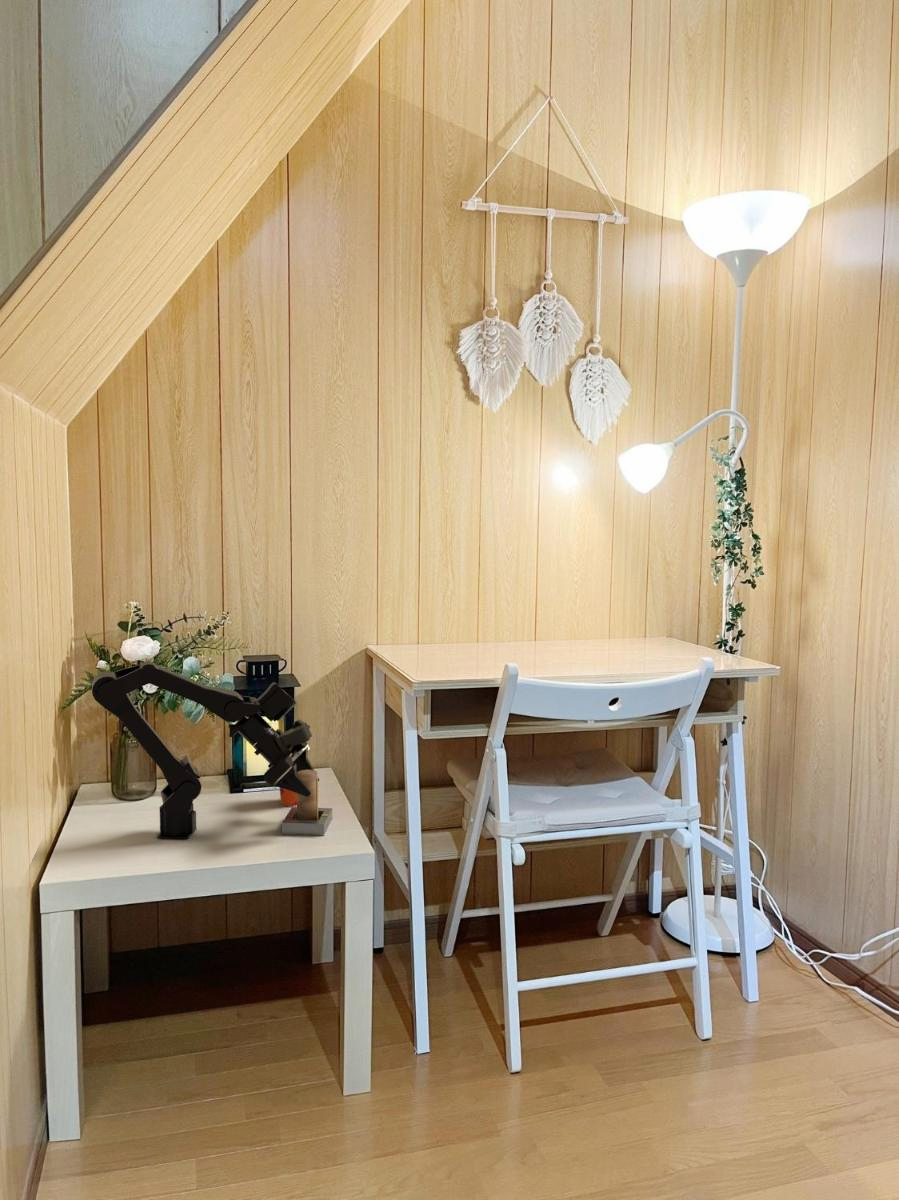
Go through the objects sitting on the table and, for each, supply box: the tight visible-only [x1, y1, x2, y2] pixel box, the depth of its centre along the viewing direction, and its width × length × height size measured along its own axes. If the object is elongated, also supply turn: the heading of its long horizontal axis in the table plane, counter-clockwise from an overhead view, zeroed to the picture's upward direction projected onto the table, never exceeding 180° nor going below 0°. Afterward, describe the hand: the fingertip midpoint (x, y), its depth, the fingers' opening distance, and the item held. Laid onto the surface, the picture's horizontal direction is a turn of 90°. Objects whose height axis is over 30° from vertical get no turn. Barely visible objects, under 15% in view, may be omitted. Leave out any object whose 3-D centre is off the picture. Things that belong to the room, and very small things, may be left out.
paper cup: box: [279, 744, 311, 807], centre depth 219 cm, size 8×8×14 cm
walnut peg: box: [296, 769, 319, 821], centre depth 203 cm, size 4×4×12 cm
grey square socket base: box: [281, 806, 333, 836], centre depth 204 cm, size 9×10×3 cm
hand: (313, 788), depth 203 cm, fingers open, 9 cm apart
